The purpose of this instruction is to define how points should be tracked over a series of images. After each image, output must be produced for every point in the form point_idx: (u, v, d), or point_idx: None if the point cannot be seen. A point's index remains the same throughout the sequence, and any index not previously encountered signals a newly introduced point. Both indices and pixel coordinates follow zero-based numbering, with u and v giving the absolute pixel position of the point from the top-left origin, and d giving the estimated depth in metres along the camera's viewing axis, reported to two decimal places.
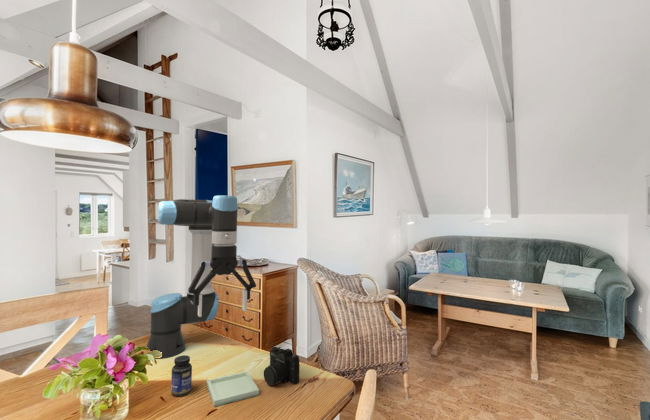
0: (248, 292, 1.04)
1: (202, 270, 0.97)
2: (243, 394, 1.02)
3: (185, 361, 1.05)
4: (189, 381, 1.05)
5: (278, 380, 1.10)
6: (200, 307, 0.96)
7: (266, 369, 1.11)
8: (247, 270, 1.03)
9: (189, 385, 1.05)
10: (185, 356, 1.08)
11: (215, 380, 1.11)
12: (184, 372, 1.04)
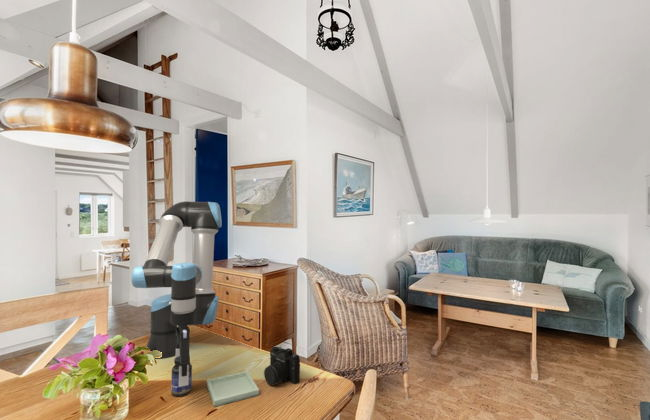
0: (181, 368, 0.99)
1: (176, 328, 1.11)
2: (243, 394, 1.02)
3: None
4: (189, 381, 1.05)
5: (279, 380, 1.10)
6: None
7: (267, 369, 1.11)
8: (180, 344, 0.99)
9: (189, 385, 1.05)
10: None
11: (215, 380, 1.11)
12: None
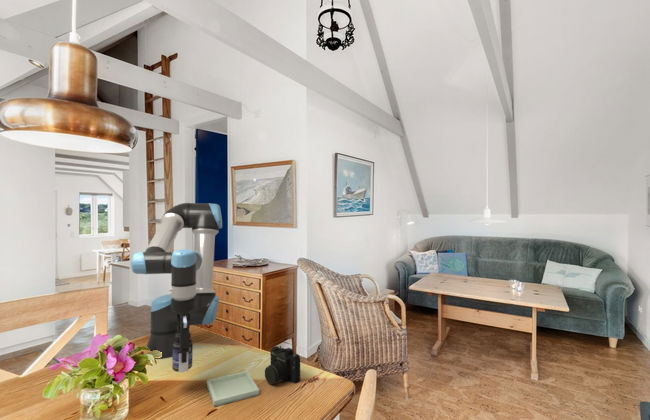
0: (181, 355, 1.02)
1: None
2: (243, 394, 1.02)
3: None
4: (190, 357, 1.06)
5: (279, 379, 1.10)
6: None
7: (267, 368, 1.12)
8: (180, 333, 1.01)
9: (190, 361, 1.06)
10: None
11: (215, 380, 1.11)
12: None
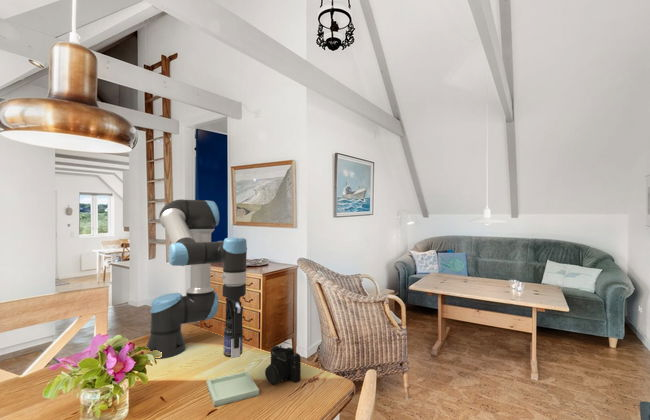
0: (234, 341, 1.04)
1: (226, 305, 1.12)
2: (243, 394, 1.02)
3: None
4: (241, 343, 1.07)
5: (280, 378, 1.11)
6: None
7: (268, 368, 1.12)
8: (234, 318, 1.02)
9: (241, 347, 1.07)
10: None
11: (215, 380, 1.11)
12: None
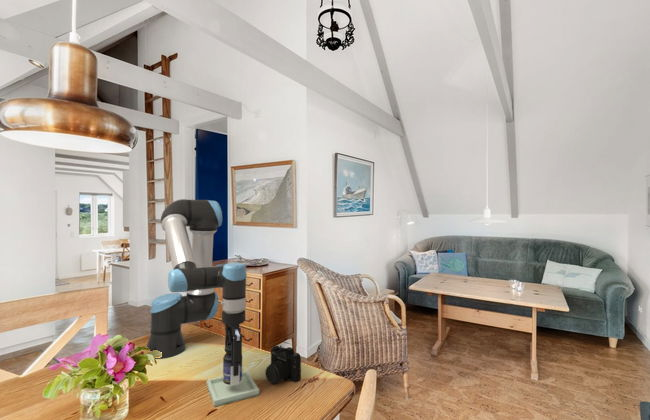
0: (233, 368, 1.03)
1: (226, 331, 1.12)
2: (243, 394, 1.02)
3: None
4: (240, 370, 1.07)
5: (280, 378, 1.11)
6: None
7: (268, 367, 1.12)
8: (233, 346, 1.02)
9: (240, 374, 1.07)
10: None
11: (215, 380, 1.11)
12: None
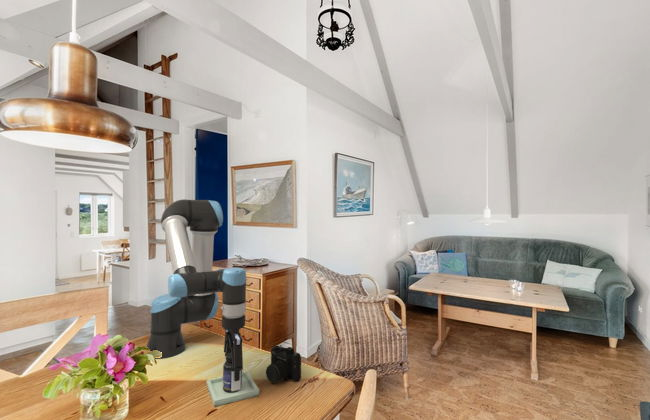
0: (234, 373, 1.02)
1: (225, 334, 1.12)
2: (243, 394, 1.02)
3: None
4: None
5: (280, 378, 1.11)
6: None
7: (268, 367, 1.12)
8: (234, 350, 1.01)
9: None
10: None
11: (215, 380, 1.11)
12: None
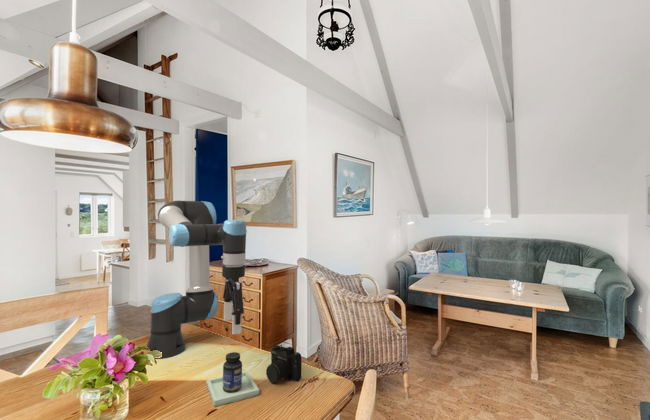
0: (235, 317, 1.04)
1: (225, 282, 1.16)
2: (243, 394, 1.02)
3: (236, 358, 1.06)
4: (240, 377, 1.07)
5: (281, 377, 1.12)
6: (224, 312, 1.16)
7: (269, 367, 1.13)
8: (234, 294, 1.04)
9: (240, 381, 1.07)
10: (235, 353, 1.09)
11: (215, 380, 1.11)
12: (236, 368, 1.05)
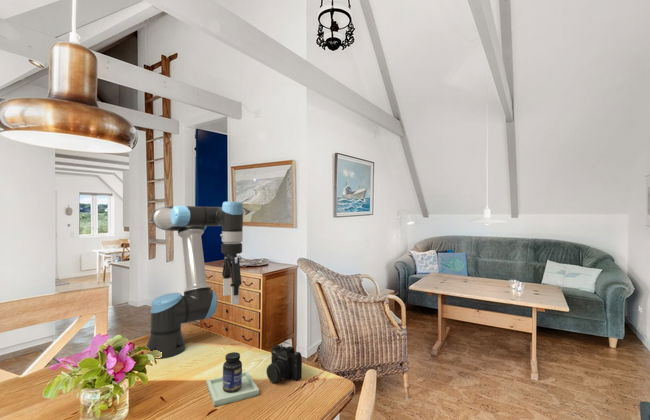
0: (234, 288, 1.14)
1: (224, 260, 1.26)
2: (243, 394, 1.02)
3: (236, 358, 1.06)
4: (240, 377, 1.07)
5: (281, 377, 1.12)
6: (223, 288, 1.26)
7: (269, 367, 1.13)
8: (232, 268, 1.14)
9: (240, 381, 1.07)
10: (235, 353, 1.09)
11: (215, 380, 1.11)
12: (236, 368, 1.05)
